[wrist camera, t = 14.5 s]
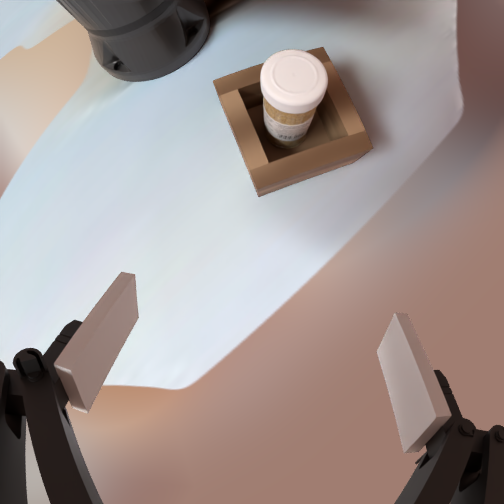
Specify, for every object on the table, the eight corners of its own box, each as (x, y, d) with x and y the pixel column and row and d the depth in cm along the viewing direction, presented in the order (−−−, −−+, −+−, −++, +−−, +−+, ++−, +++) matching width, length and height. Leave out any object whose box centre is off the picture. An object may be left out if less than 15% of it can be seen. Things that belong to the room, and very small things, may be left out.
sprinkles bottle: (309, 114, 32) (332, 54, 18) (302, 154, 32) (325, 111, 19) (267, 106, 32) (266, 42, 18) (259, 146, 32) (254, 98, 19)
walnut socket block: (222, 106, 33) (212, 80, 26) (313, 76, 32) (323, 46, 25) (258, 197, 34) (256, 189, 27) (353, 162, 33) (373, 148, 26)
